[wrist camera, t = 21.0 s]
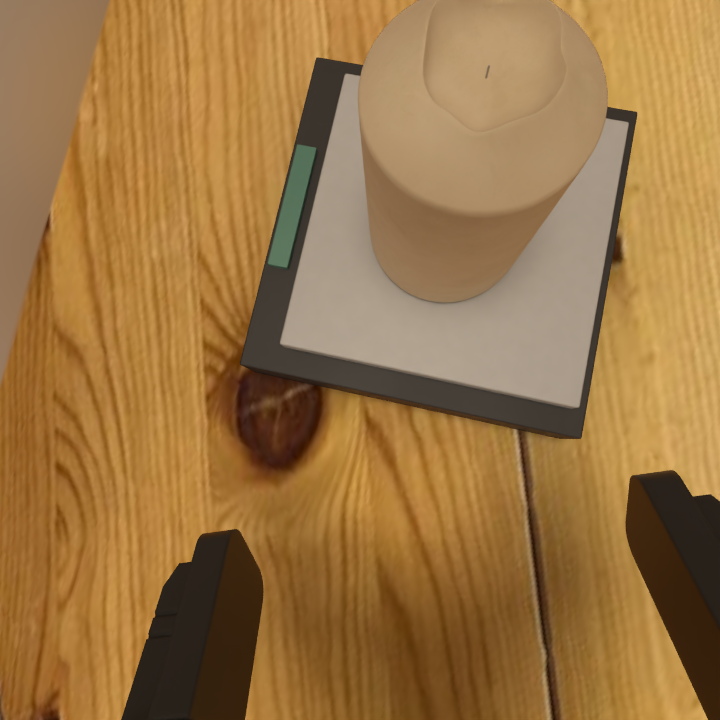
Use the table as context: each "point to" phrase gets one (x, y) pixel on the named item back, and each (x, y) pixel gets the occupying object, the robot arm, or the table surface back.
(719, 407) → the table surface
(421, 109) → the candle
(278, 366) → the scale
